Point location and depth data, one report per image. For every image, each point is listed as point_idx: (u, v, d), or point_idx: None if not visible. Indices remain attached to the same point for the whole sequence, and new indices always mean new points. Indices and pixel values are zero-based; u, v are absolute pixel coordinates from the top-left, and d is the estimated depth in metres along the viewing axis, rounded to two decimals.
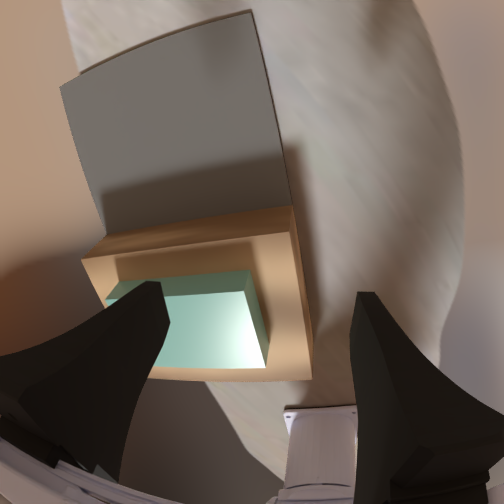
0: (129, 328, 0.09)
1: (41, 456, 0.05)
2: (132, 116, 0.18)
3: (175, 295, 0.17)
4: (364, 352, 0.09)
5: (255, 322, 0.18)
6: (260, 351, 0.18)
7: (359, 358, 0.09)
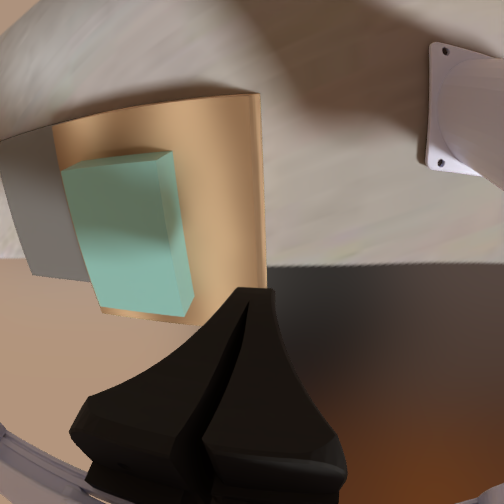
0: (237, 341, 0.09)
1: None
2: (42, 228, 0.24)
3: None
4: None
5: (101, 163, 0.15)
6: (128, 163, 0.14)
7: None
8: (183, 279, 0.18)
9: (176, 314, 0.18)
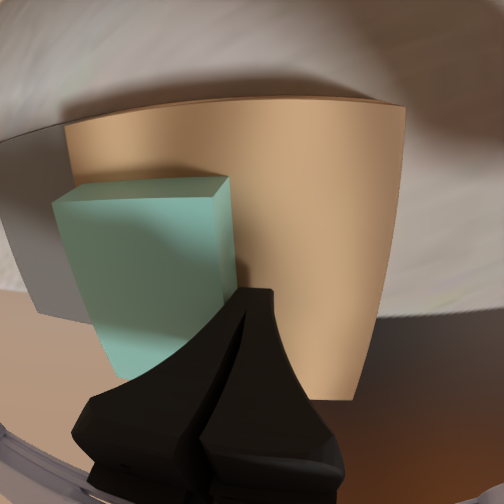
0: (239, 341, 0.09)
1: None
2: (48, 260, 0.19)
3: (80, 293, 0.11)
4: None
5: (115, 194, 0.09)
6: (162, 199, 0.09)
7: None
8: None
9: None
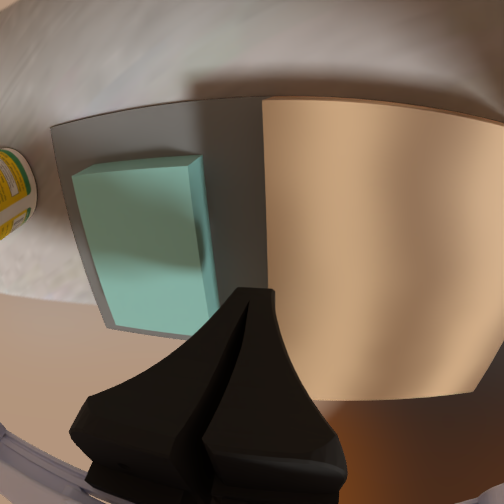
0: (237, 341, 0.09)
1: None
2: None
3: (210, 232, 0.16)
4: None
5: (146, 160, 0.14)
6: (117, 162, 0.14)
7: None
8: None
9: None
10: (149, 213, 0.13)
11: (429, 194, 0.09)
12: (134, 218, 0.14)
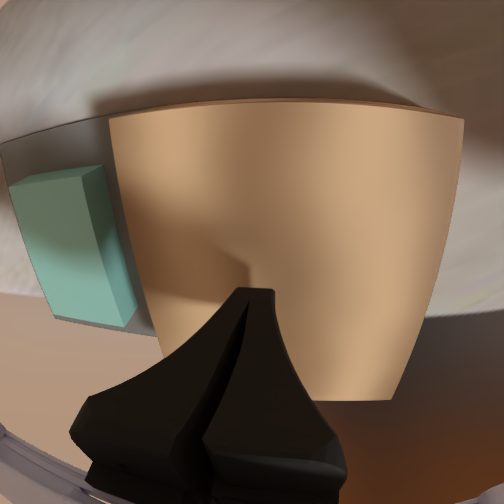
0: (237, 341, 0.09)
1: None
2: None
3: (117, 232, 0.17)
4: None
5: (62, 172, 0.15)
6: (45, 173, 0.15)
7: None
8: None
9: None
10: (60, 217, 0.14)
11: (269, 187, 0.10)
12: (52, 221, 0.14)
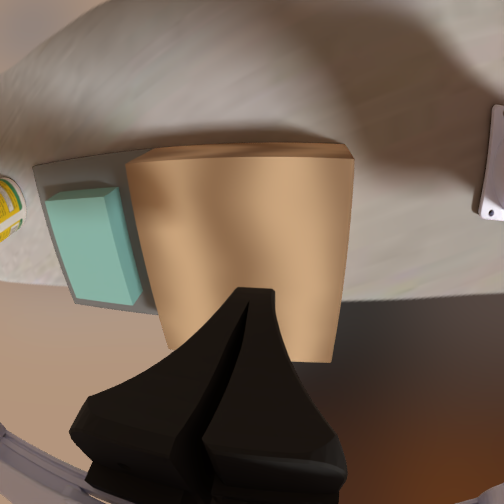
0: (237, 341, 0.09)
1: None
2: None
3: (128, 235, 0.23)
4: None
5: (87, 191, 0.21)
6: (72, 191, 0.22)
7: None
8: None
9: None
10: (87, 224, 0.21)
11: (225, 208, 0.17)
12: (80, 227, 0.21)
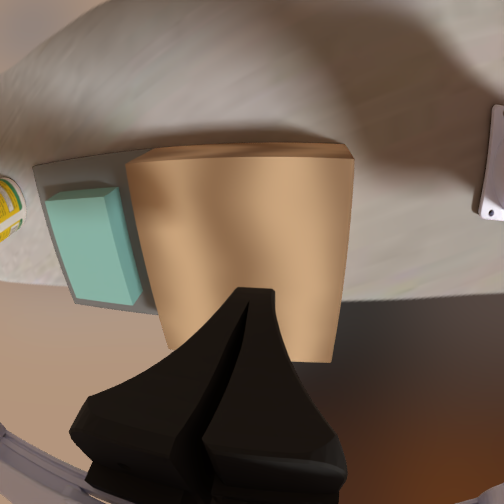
0: (237, 341, 0.09)
1: None
2: None
3: (128, 235, 0.23)
4: None
5: (87, 191, 0.21)
6: (72, 191, 0.22)
7: None
8: None
9: None
10: (87, 224, 0.21)
11: (225, 208, 0.17)
12: (80, 227, 0.21)
